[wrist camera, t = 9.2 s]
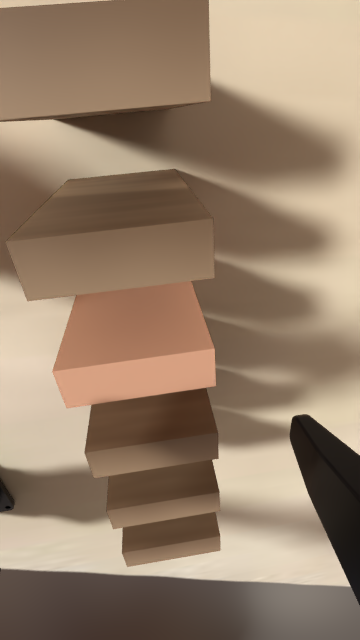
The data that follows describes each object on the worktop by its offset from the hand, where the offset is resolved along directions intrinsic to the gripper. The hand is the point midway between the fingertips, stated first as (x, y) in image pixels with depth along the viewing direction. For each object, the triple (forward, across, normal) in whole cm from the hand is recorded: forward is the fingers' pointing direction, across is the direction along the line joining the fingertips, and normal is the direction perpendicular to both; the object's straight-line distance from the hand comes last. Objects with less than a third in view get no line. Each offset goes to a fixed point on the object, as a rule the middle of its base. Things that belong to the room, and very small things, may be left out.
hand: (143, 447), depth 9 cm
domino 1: (+13, 0, -9) cm, 16 cm away
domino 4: (+13, 0, +5) cm, 14 cm away
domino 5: (+13, 0, +9) cm, 16 cm away
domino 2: (+13, 0, -4) cm, 14 cm away
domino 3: (+13, 0, 0) cm, 13 cm away
